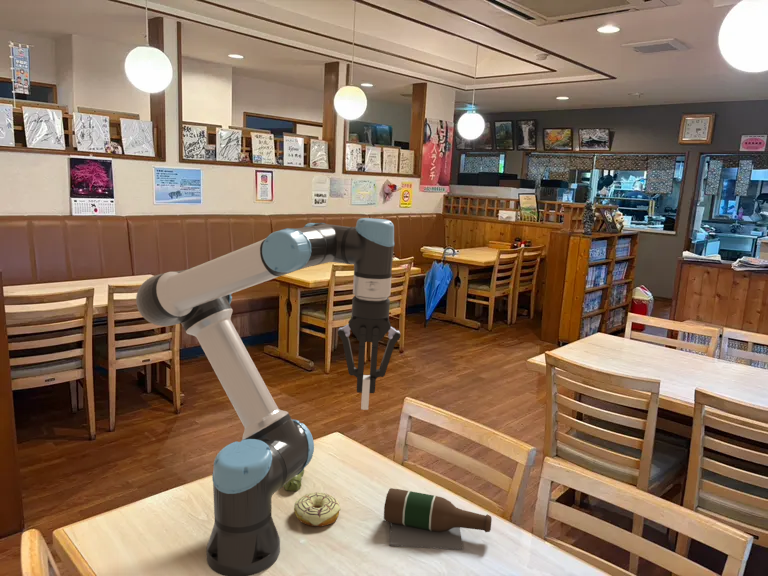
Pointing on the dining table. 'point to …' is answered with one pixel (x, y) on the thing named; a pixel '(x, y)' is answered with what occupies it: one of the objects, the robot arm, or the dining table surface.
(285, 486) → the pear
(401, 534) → the mat
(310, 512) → the decorated donut
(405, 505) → the beer bottle
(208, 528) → the dining table surface
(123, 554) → the dining table surface
